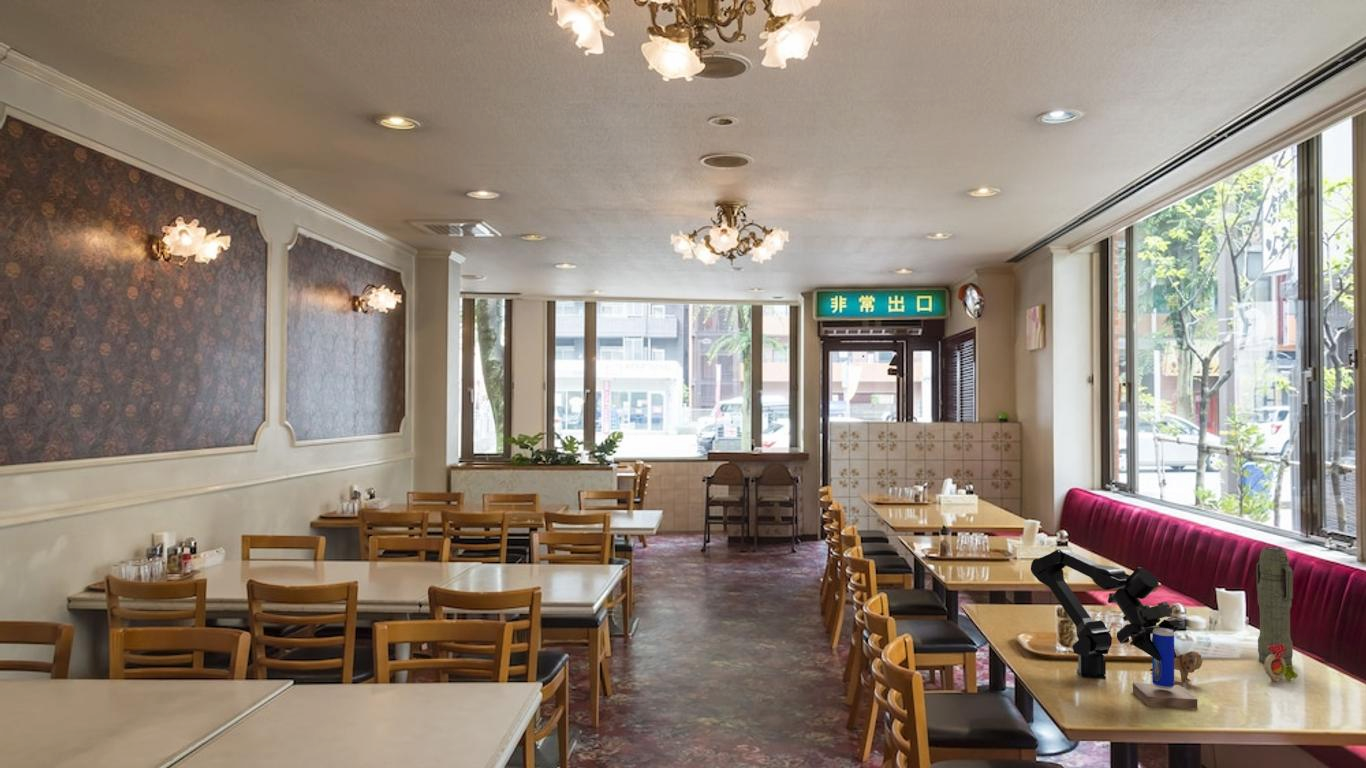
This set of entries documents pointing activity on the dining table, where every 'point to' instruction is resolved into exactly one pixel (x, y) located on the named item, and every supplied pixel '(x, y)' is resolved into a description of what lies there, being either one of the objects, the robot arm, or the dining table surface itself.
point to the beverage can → (1163, 658)
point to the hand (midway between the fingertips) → (1167, 659)
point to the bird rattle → (1278, 664)
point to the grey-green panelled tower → (1274, 601)
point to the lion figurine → (1187, 664)
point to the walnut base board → (1164, 696)
